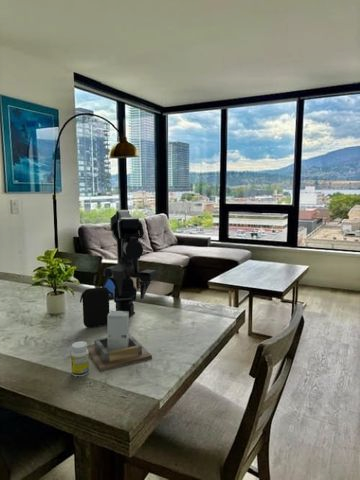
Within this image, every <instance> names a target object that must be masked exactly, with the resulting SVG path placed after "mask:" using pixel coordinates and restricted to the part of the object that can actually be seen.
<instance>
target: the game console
mask: <svg viewBox="0 0 360 480" xmlns="http://www.w3.org/2000/svg"><path fill="white" fill-rule="evenodd" d="M101 287H106V288H107V289H108V290H109V301H110V300H113V290H114V287H115V286H114V284H113V282H112V281H111V280H110V279H108V278H107V277H105V280H104V282H103V284H102V286H101Z"/></svg>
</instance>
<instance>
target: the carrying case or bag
mask: <svg viewBox="0 0 360 480" xmlns="http://www.w3.org/2000/svg"><path fill="white" fill-rule="evenodd" d="M79 303H82V317H83V320H82V321H83V325H84V326H85V328H89V329H90V328H98V327H103V326H106V325H107V322H108V321H107V316H108V314H109V312H110V300H109V290H108V289H107V288H106V287H102V286H100V287H93V288H87V289H85V290H84V291H82V292H81V295H80V299H79Z"/></svg>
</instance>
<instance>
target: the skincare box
mask: <svg viewBox="0 0 360 480" xmlns="http://www.w3.org/2000/svg"><path fill="white" fill-rule="evenodd" d="M107 321H108V322H107V328H106V329H107V330H106V331H107V335H106V336H107V351H108V352H110V351H115V350H119V349H124V348H128V347H129V334H130V333H129V331H130V326H129V325H130V322H129V321H130V317H129V312H128V311H116V310H109V314H108V316H107Z"/></svg>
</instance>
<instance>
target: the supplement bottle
mask: <svg viewBox="0 0 360 480" xmlns="http://www.w3.org/2000/svg"><path fill="white" fill-rule="evenodd" d="M87 346H88V344H87V342H86V341H81V340H80V341H76V342H73V343H72V344H71V350H72V351H71V352H70V353H71V354H70V359H71V360H70V361H71V374H72V376H74V377H77V376H79V377H85V376H86V375H88V374H89V373H90V360H89V359H90V355H89V352H88V349H87Z"/></svg>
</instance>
